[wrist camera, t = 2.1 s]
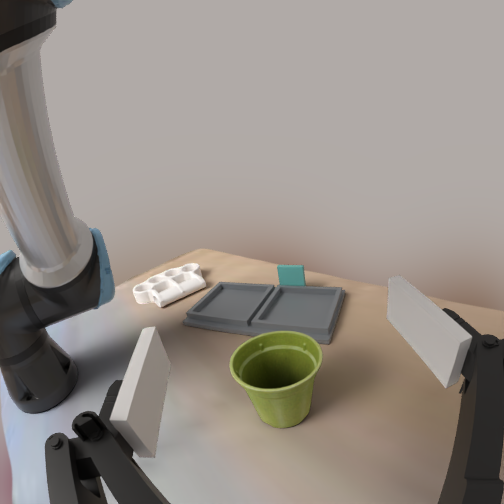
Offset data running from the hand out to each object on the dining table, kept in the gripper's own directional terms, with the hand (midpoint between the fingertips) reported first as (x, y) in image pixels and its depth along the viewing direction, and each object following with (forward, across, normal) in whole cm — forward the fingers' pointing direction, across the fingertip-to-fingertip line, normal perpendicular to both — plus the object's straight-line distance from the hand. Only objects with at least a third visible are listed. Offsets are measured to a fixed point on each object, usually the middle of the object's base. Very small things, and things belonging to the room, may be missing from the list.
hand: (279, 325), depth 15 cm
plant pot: (+10, 0, -19) cm, 22 cm away
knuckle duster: (+50, -20, -20) cm, 57 cm away
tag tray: (+33, +1, -19) cm, 38 cm away
